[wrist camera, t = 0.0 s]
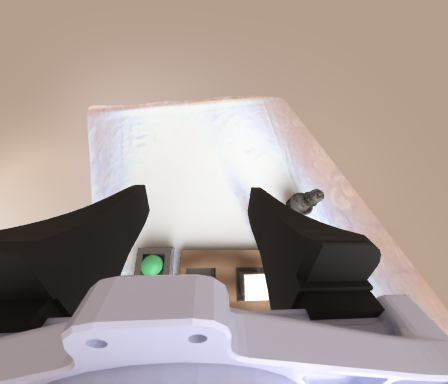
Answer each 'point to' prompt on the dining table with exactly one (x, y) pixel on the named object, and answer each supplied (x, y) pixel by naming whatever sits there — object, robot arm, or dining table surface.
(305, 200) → the salt shaker
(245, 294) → the block
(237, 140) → the dining table surface
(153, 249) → the button box
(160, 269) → the button
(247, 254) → the wooden socket board
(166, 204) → the dining table surface
